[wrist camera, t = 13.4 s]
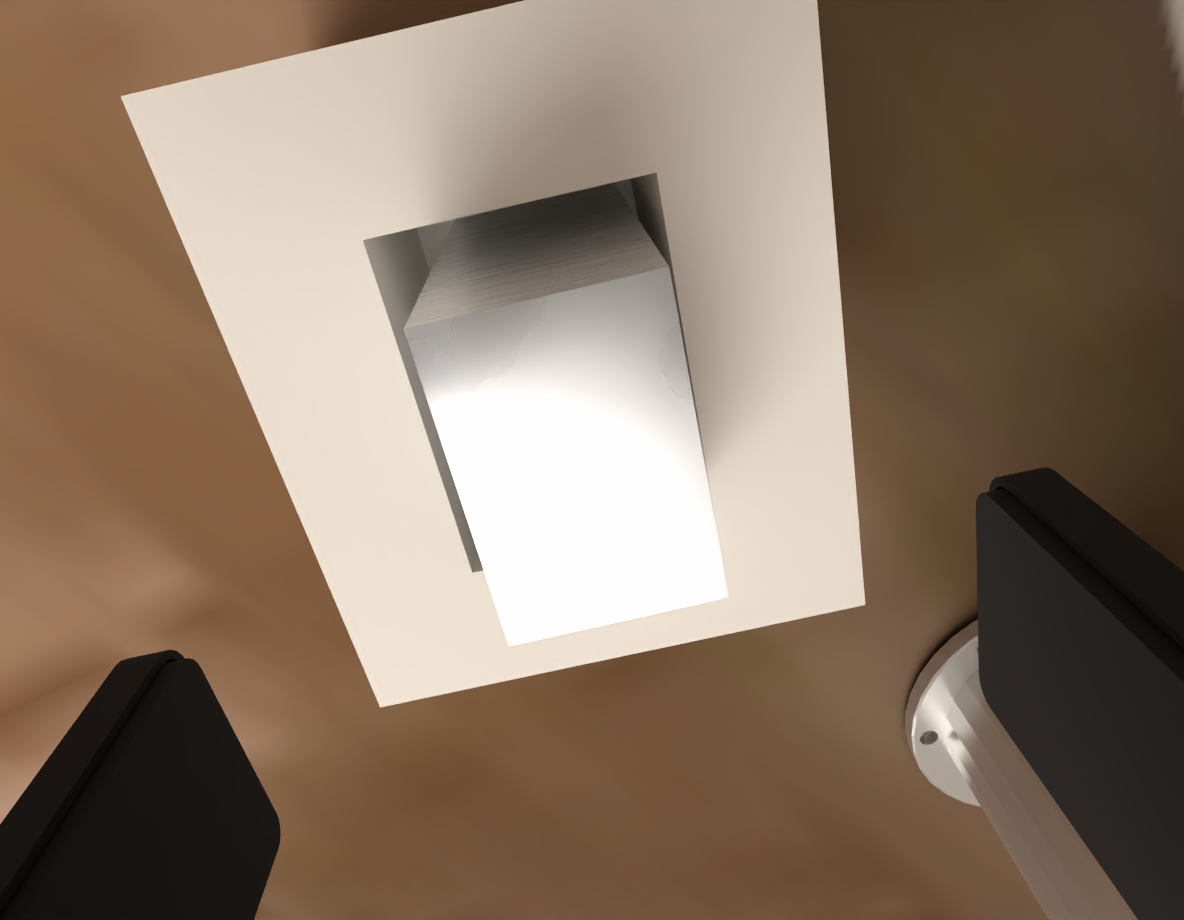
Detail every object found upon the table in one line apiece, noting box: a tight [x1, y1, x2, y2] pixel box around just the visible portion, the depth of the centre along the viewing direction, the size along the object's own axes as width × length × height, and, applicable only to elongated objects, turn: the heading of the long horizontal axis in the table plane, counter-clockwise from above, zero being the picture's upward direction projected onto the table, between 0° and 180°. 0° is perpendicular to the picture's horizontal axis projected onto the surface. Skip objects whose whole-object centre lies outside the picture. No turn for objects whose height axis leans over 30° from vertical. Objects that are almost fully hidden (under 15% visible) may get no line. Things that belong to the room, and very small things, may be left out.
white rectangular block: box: [404, 182, 729, 646], centre depth 18 cm, size 4×6×10 cm, turn 12°
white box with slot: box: [121, 0, 865, 707], centre depth 23 cm, size 12×14×14 cm
